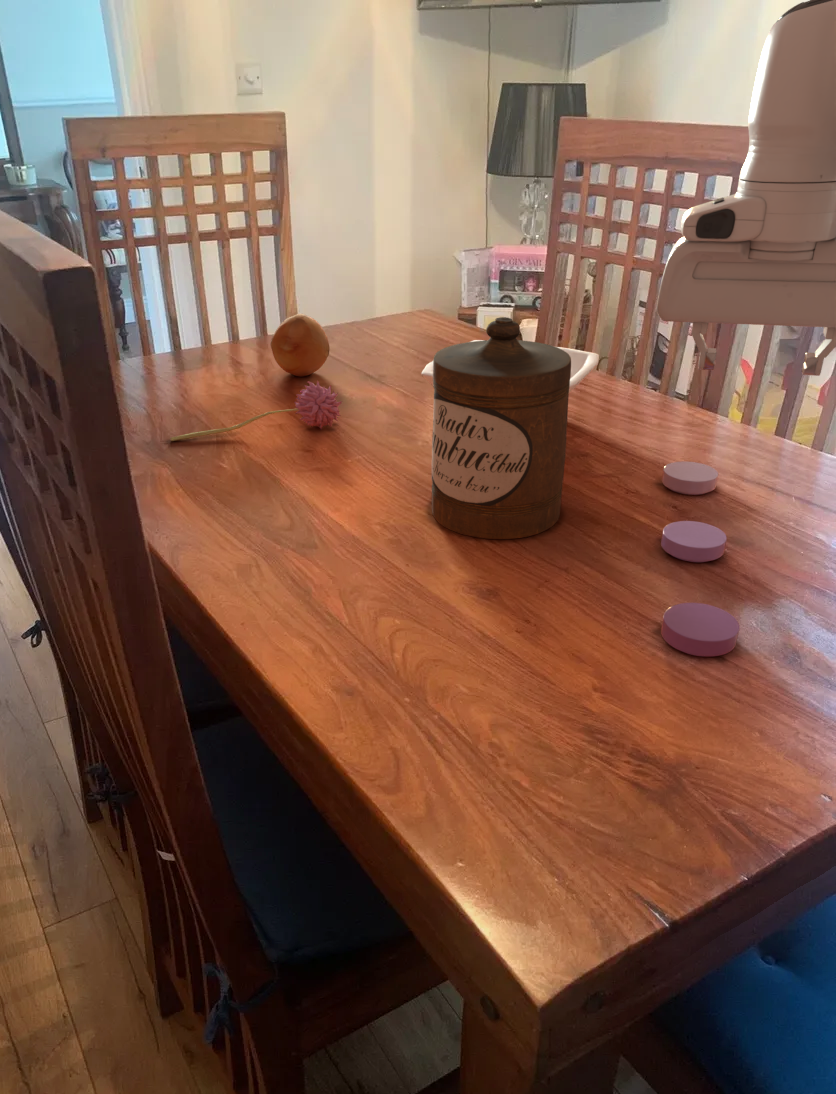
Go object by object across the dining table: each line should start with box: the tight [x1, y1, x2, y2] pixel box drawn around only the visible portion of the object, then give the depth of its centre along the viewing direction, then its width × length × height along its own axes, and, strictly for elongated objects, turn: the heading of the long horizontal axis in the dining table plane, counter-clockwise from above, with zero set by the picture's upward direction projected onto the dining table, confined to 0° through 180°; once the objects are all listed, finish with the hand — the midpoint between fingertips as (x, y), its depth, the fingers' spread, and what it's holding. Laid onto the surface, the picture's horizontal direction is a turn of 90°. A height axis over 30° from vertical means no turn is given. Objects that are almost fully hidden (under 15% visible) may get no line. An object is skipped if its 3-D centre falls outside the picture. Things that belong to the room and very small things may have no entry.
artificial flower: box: [169, 380, 343, 442], centre depth 123 cm, size 7×7×25 cm
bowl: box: [420, 339, 600, 394], centre depth 125 cm, size 22×23×8 cm
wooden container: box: [431, 316, 571, 540], centre depth 95 cm, size 15×15×22 cm
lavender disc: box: [660, 520, 728, 563], centre depth 91 cm, size 6×6×2 cm
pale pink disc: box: [661, 460, 719, 496], centre depth 105 cm, size 6×6×2 cm
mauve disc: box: [660, 602, 741, 657], centre depth 76 cm, size 6×6×2 cm
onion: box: [270, 313, 331, 377], centre depth 147 cm, size 10×10×10 cm
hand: (757, 371), depth 83 cm, fingers open, 8 cm apart
